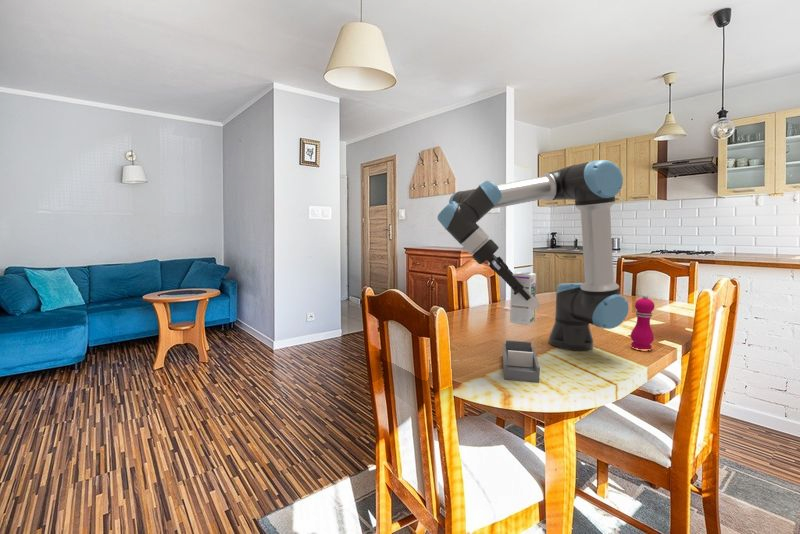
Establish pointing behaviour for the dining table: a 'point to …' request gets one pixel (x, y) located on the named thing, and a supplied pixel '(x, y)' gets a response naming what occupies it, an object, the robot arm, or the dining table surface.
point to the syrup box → (518, 306)
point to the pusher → (520, 358)
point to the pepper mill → (643, 324)
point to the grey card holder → (518, 371)
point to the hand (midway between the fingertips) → (535, 304)
